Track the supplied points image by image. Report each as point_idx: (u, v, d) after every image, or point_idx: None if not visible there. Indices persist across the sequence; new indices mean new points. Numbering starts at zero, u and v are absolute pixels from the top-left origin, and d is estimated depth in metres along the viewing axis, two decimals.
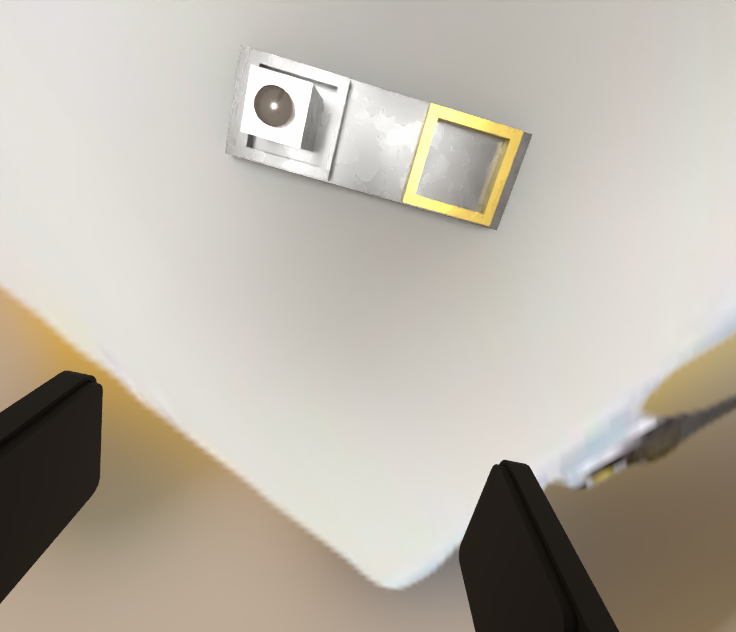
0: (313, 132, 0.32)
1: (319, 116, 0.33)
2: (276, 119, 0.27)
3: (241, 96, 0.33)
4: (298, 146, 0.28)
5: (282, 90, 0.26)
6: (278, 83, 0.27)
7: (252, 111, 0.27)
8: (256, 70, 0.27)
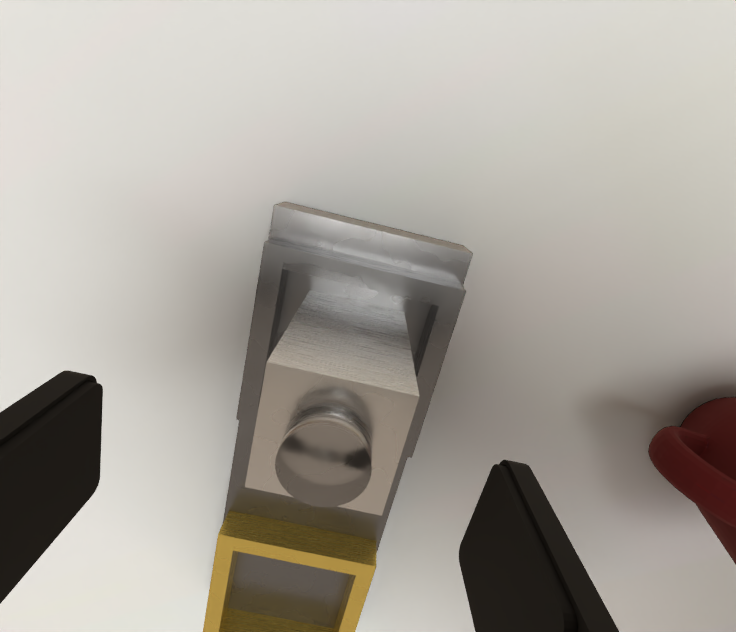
0: None
1: None
2: (292, 474, 0.10)
3: (384, 247, 0.17)
4: (248, 485, 0.12)
5: (358, 490, 0.11)
6: (380, 451, 0.11)
7: (315, 393, 0.11)
8: (407, 407, 0.11)
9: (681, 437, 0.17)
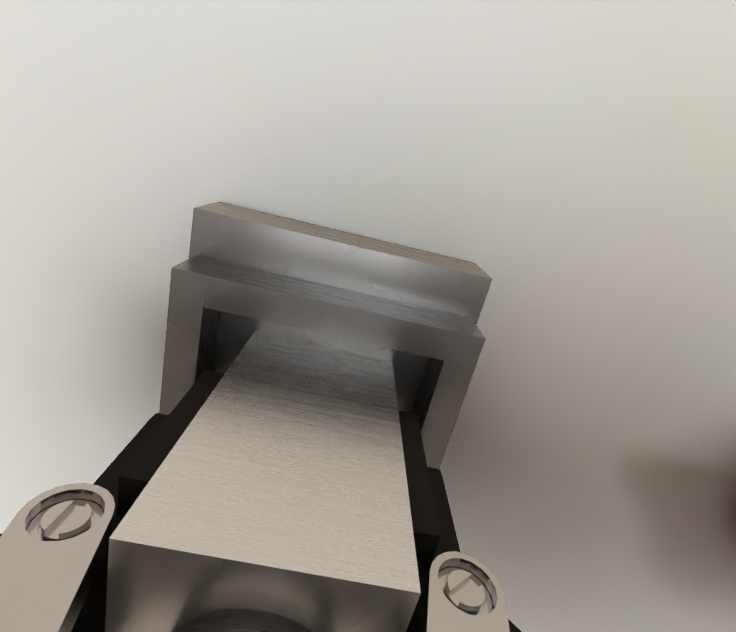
0: None
1: None
2: None
3: (361, 270, 0.11)
4: None
5: None
6: None
7: (215, 590, 0.05)
8: (396, 610, 0.06)
9: None
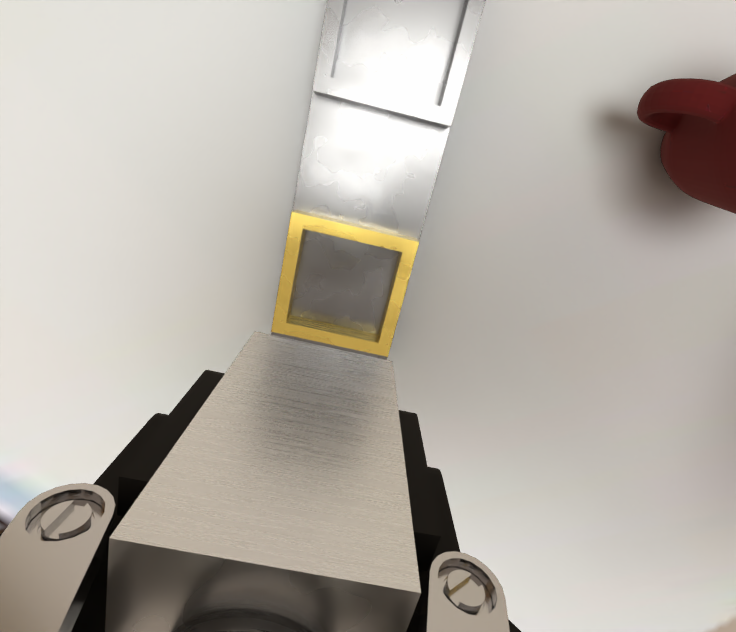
0: None
1: None
2: None
3: None
4: None
5: None
6: None
7: (215, 589, 0.05)
8: (396, 610, 0.06)
9: None
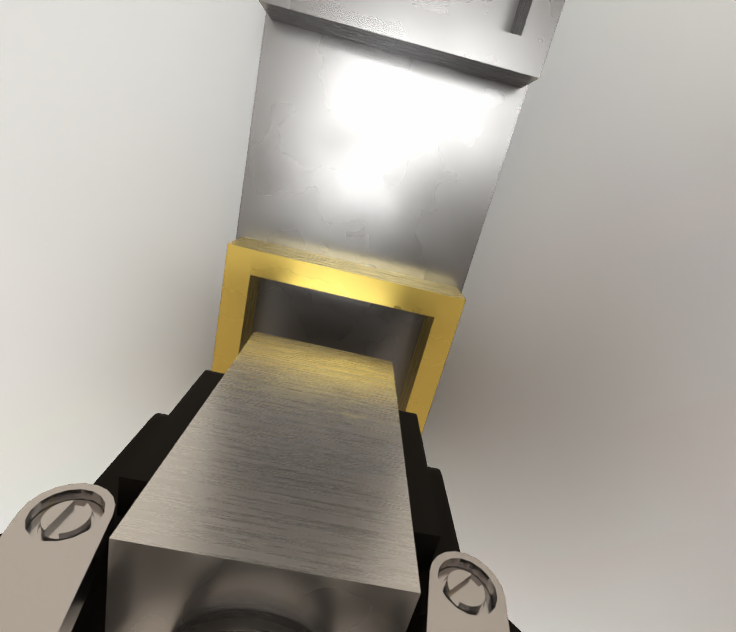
0: None
1: None
2: None
3: None
4: None
5: None
6: None
7: (215, 590, 0.05)
8: (396, 610, 0.06)
9: None
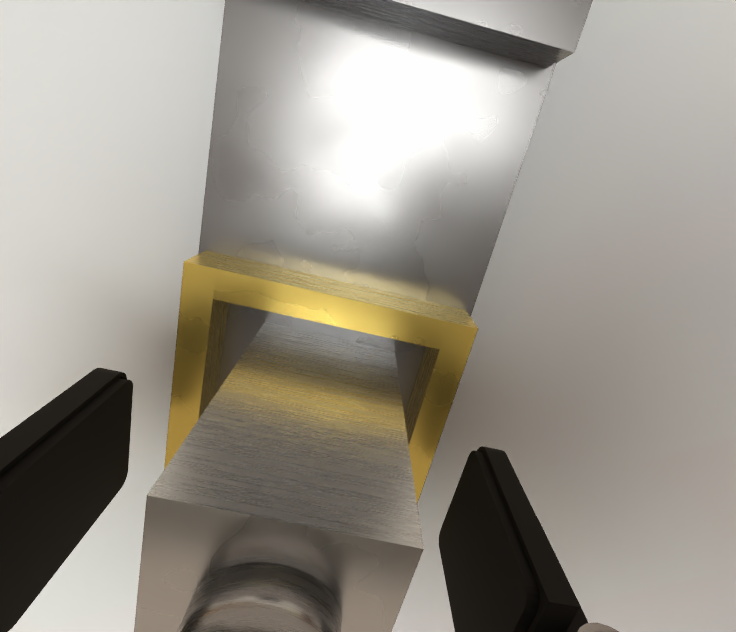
0: None
1: None
2: None
3: None
4: None
5: None
6: (354, 628, 0.07)
7: (239, 544, 0.06)
8: (401, 564, 0.06)
9: None
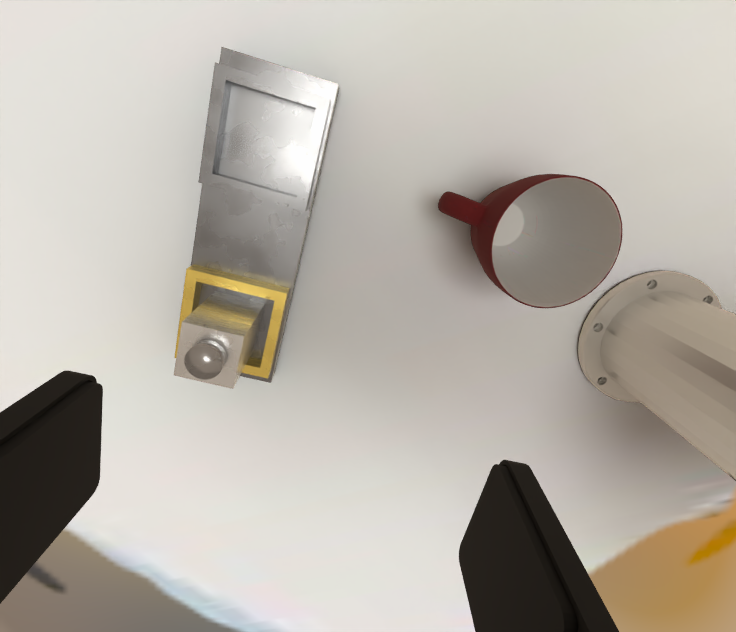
0: None
1: None
2: (191, 365, 0.27)
3: (287, 77, 0.29)
4: (175, 374, 0.28)
5: (217, 372, 0.27)
6: (230, 359, 0.28)
7: (202, 334, 0.27)
8: (239, 341, 0.28)
9: None
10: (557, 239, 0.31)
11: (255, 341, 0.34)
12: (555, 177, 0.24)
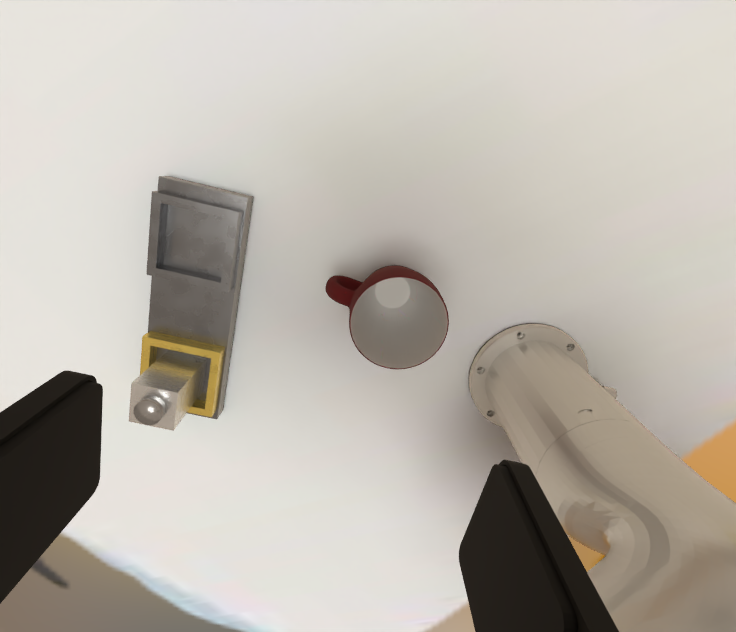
0: None
1: None
2: (138, 415, 0.36)
3: (208, 195, 0.38)
4: (129, 420, 0.38)
5: (158, 420, 0.37)
6: (169, 409, 0.37)
7: (147, 391, 0.37)
8: (174, 396, 0.37)
9: (346, 280, 0.39)
10: (426, 307, 0.40)
11: (201, 388, 0.44)
12: (389, 277, 0.32)
